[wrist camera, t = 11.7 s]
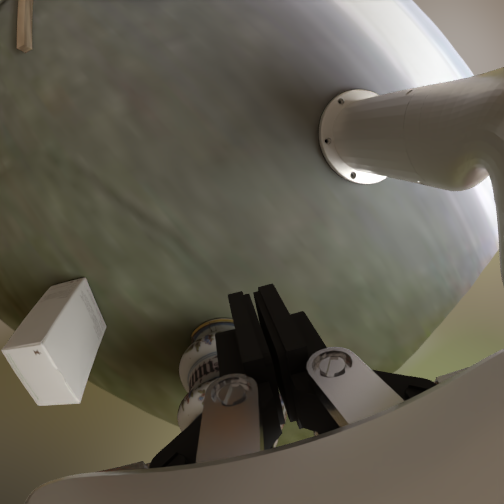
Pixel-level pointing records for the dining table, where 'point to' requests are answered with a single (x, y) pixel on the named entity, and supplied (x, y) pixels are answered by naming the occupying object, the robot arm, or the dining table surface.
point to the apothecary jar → (202, 370)
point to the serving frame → (24, 25)
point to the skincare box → (57, 344)
